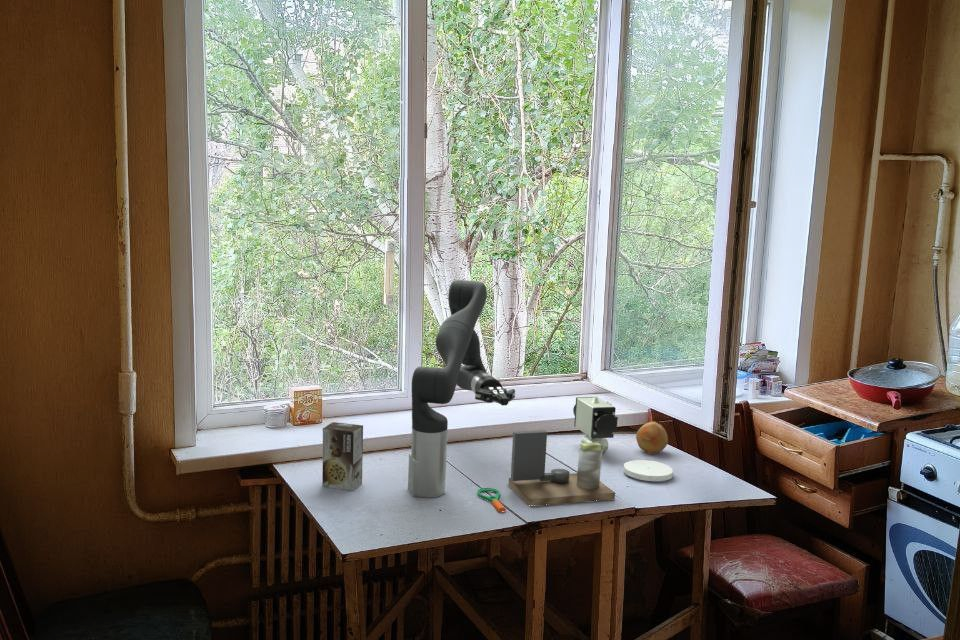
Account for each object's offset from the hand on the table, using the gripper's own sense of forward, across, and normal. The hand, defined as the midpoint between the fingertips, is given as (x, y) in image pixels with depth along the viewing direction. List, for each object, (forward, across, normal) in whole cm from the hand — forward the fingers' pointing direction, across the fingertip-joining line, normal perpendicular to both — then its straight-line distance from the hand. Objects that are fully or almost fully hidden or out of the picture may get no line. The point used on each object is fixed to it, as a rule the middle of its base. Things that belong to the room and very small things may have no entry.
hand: (505, 402), depth 221 cm
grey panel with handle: (+17, +5, +18) cm, 25 cm away
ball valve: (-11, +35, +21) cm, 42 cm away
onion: (-7, +53, +21) cm, 57 cm away
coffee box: (+4, -46, +20) cm, 51 cm away
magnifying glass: (+22, -10, +21) cm, 32 cm away
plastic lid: (+12, +41, +21) cm, 47 cm away
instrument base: (+20, +10, +20) cm, 30 cm away
